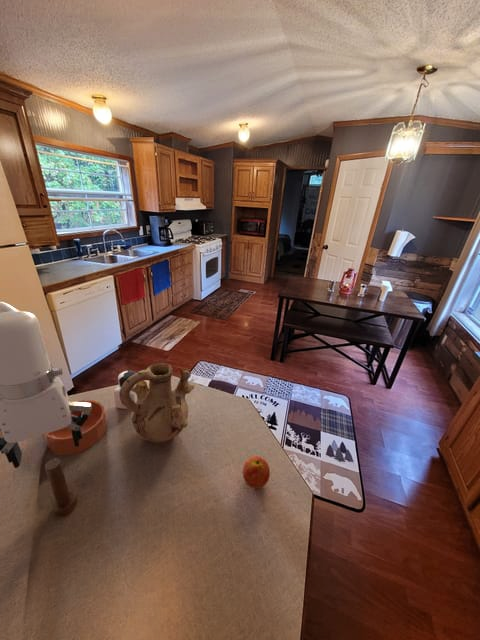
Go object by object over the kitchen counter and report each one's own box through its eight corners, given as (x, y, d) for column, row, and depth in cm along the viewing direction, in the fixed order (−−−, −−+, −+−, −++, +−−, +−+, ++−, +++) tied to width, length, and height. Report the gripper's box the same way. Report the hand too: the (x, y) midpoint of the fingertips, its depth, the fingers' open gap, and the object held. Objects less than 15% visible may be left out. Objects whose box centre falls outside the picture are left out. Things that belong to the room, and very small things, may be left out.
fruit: (250, 464, 71) (252, 443, 68) (272, 477, 68) (276, 456, 65) (236, 484, 66) (239, 463, 62) (260, 500, 62) (264, 478, 59)
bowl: (45, 464, 67) (40, 448, 64) (49, 424, 79) (45, 409, 76) (109, 442, 74) (106, 426, 72) (104, 408, 86) (101, 394, 84)
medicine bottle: (145, 396, 93) (142, 369, 88) (135, 410, 86) (132, 381, 82) (126, 394, 93) (122, 367, 89) (115, 408, 87) (111, 379, 82)
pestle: (53, 520, 55) (38, 477, 50) (54, 502, 59) (40, 460, 53) (77, 510, 57) (65, 468, 52) (76, 492, 61) (65, 451, 55)
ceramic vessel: (187, 460, 71) (187, 387, 61) (117, 460, 69) (105, 386, 59) (194, 412, 88) (194, 349, 78) (137, 412, 86) (130, 348, 76)
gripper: (83, 359, 52) (96, 423, 58) (-35, 383, 43) (-4, 454, 50) (84, 379, 46) (99, 447, 52) (-52, 411, 37) (-14, 488, 44)
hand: (49, 451), depth 51 cm, fingers open, 9 cm apart
